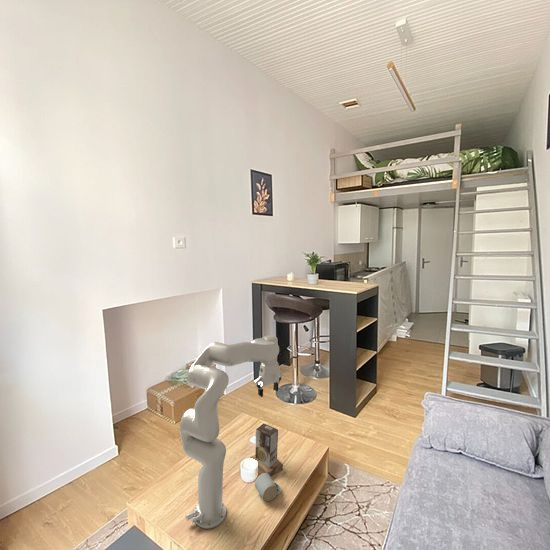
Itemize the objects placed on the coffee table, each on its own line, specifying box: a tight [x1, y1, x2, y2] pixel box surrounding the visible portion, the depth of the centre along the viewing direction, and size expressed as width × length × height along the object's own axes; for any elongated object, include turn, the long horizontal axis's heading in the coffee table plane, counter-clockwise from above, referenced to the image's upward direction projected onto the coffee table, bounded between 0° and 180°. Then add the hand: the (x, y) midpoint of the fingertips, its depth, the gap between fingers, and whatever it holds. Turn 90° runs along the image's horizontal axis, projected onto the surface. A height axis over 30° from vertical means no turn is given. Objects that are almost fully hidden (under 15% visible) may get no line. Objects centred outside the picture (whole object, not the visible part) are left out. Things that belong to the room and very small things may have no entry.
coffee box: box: [254, 423, 279, 468], centre depth 149 cm, size 9×6×16 cm
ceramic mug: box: [254, 473, 282, 502], centre depth 133 cm, size 11×8×8 cm
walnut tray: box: [250, 454, 284, 478], centre depth 150 cm, size 10×13×3 cm
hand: (268, 393), depth 156 cm, fingers open, 9 cm apart
